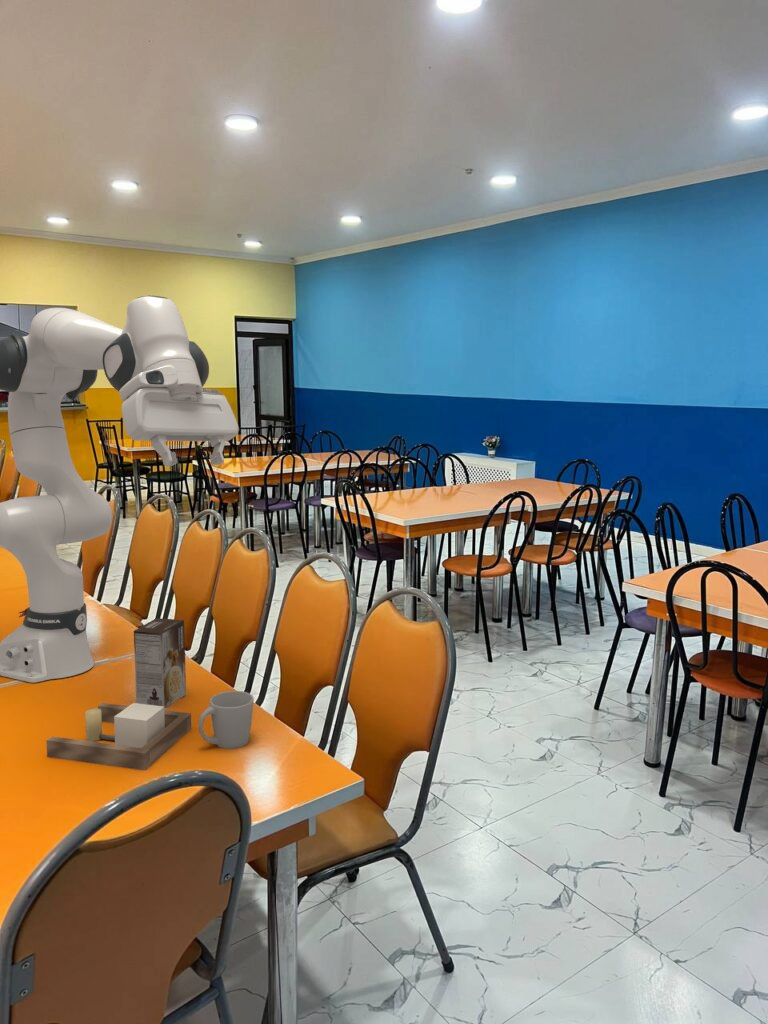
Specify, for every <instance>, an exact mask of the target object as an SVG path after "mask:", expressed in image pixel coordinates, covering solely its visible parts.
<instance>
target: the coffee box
mask: <svg viewBox="0 0 768 1024" xmlns="http://www.w3.org/2000/svg"><path fill="white" fill-rule="evenodd" d="M185 639H186V637H185V620H184V619H175V618H162V617H161V618H159V617H156V618H154V619H153V620H151V621H149V622H147V623H145V624H143V625H142V626H139V627H138V628H136V629H134V630H133V648H134V650H133V651H134V653H133V654H134V675H135V679H134V680H135V698H136V700H135V701H136V702H135V703H138V704H147V705H155V706H164V710H165V709H167V708H168V707H170V706H171V705H172V704H173V703H175V702H176V701H177V700H178V699H183V697H184V696H186V694H187V684H186V683H187V679H186V678H187V675H186V641H185Z"/></svg>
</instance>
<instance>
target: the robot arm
mask: <svg viewBox="0 0 768 1024" xmlns="http://www.w3.org/2000/svg"><path fill="white" fill-rule="evenodd" d="M29 329H30V330H29V333H28V335H25V336H22V335H21V336H19V335H18V334H17V333H15V332H14V333H12V334H10V335H9V336H8V337H6V338H2V339H0V390H2V391H5V392H9V394H8V400H7V419H8V431H9V437H10V444H11V448H12V453H13V460H14V466H15V468H16V470H17V471H18V472H19V474H21V476H23V477H25V478H26V479H29V480H31V481H34V482H36V483H37V484H39V485H40V486H41V487H42V488H43V490H44V492H45V493H46V494H44V495H35V496H34V495H33V496H22V497H21V496H20V497H16V498H13V499H9V500H5V501H1V502H0V547H1V548H2V549H4V550H6V551H7V552H9V554H11V555H13V557H14V558H16V560H17V561H18V562H19V563H20V565H21V567H22V569H23V571H24V574H25V577H26V578H25V579H26V584H27V590H28V592H27V593H28V603H29V604H28V605H29V606H28V607H27V608H25V609H24V610H22V611H19V612H18V614H20V615H18V618H22V617H24V618H23V621H22V624H21V625H20V626H18V627H17V628H15V630H13V631H12V632H11V633H9V634H8V635H7V636H5V637H4V638H3V639H2V640H1V641H0V676H2V677H6V678H10V679H13V680H14V679H15V680H17V681H22V682H27V683H32V684H33V683H39V682H40V683H41V682H44V681H48V680H55V679H63V678H67V677H73V676H76V675H79V674H82V673H85V672H87V671H89V670H90V669H92V668H93V667H94V665H95V661H94V659H93V656H92V653H91V649H90V645H89V639H88V635H87V623H88V616H87V615H88V614H87V604H86V603H85V595H84V575H83V572H82V570H81V568H80V567H79V566H78V565H76V563H73V562H71V561H70V560H65V559H63V558H60V557H59V555H58V552H57V546H59V545H65V544H73V543H80V542H88V541H90V540H93V539H96V538H99V537H101V536H104V535H106V534H107V533H108V532H109V530H110V528H111V526H112V523H113V509H112V507H111V504H110V503H109V501H108V500H107V499H106V498H105V497H104V496H103V495H101V494H99V493H98V492H97V491H95V490H93V489H92V488H91V487H90V486H89V485H87V483H86V482H85V481H84V480H83V478H82V477H81V476H80V475H79V473H78V471H77V470H76V466H75V465H74V463H73V460H72V457H71V453H70V447H69V443H68V438H67V432H66V428H65V427H66V426H65V421H64V418H63V415H62V409H61V403H62V400H63V398H64V396H65V395H66V397H67V398H68V399H69V400H72V401H74V400H75V399H77V397H78V396H79V395H80V394H82V393H85V392H87V391H88V390H89V389H90V388H91V387H92V386H93V385H94V384H95V382H96V380H97V377H98V371H99V370H101V371H102V370H103V371H104V375H105V377H106V380H108V383H109V384H110V385H111V386H112V387H113V388H114V389H115V390H116V391H117V392H119V393H118V394H119V397H120V399H121V401H123V403H122V404H121V414H122V420H123V425H124V429H125V432H126V434H127V436H129V438H130V439H131V440H133V441H139V442H140V441H141V442H143V441H145V442H147V441H150V443H151V446H152V448H153V449H154V450H155V451H156V452H157V454H158V455H159V456H160V457H161V460H162V464H163V466H164V467H165V466H166V467H169V466H170V467H173V466H174V465H176V464H177V463H178V458H177V454H176V451H171V450H170V448H169V446H167V444H166V442H209V444H210V447H212V448H213V452H212V453H211V454H210V455H209V456H208V457H209V460H210V464H211V465H212V466H214V465H216V466H220V465H222V464H224V462H225V458H224V454H223V452H224V448H225V443H226V442H228V441H230V440H232V439H233V438H235V437H237V436H238V434H239V431H240V427H239V424H238V422H237V419H236V416H235V414H234V412H233V409H232V406H231V405H230V403H229V402H228V399H227V398H226V396H225V395H224V394H223V393H221V392H220V391H219V390H217V389H213V388H211V389H208V388H203V387H204V385H205V384H206V383H207V381H208V379H209V376H210V375H209V374H210V364H209V360H208V358H207V356H206V354H205V352H204V351H203V350H202V348H200V346H199V345H198V344H197V343H196V342H195V341H190V339H189V336H188V333H187V330H186V325H185V324H184V321H183V318H182V316H181V313H180V311H179V309H178V307H177V306H176V304H175V303H174V301H173V300H171V299H170V298H168V297H165V296H160V295H159V296H158V295H145V296H144V295H143V296H138V297H136V298H134V299H133V300H131V301H129V303H128V304H127V308H126V322H125V325H124V327H123V329H122V328H119V327H117V326H115V325H112V324H110V323H108V322H105V321H103V320H101V319H99V318H96V317H93V316H91V315H90V314H87V313H84V312H82V311H79V310H76V309H70V308H66V307H50V308H45V309H43V310H41V311H39V312H38V313H36V315H34V317H33V318H32V320H31V323H30V328H29Z"/></svg>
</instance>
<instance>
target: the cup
mask: <svg viewBox="0 0 768 1024" xmlns="http://www.w3.org/2000/svg"><path fill="white" fill-rule="evenodd" d="M254 700H255V699H254V696H253V695H252V694H251V693H250V692H246V691H243V690H242V691H241V690H228V691H222V692H219V693H216V694H215V695H212V697H210V699H209V705H208V707H207V708H206V709H205V710H204V711H202V713H201V714H200V716H199V719H198V731H199V734H200V736H201V737H202V738H203V740H204V741H205V742H207V743H210V744H213V745H216V746H217V747H219V748H221V749H224V750H225V749H227V750H231V749H232V750H233V749H239V748H242V747H244V746H246V745H247V744H248V743H249V741H250V734H251V728H252V723H253V722H252V720H253V713H254V712H253V711H254V702H255V701H254ZM210 715H211V724H212V729H213V730H212V731H213V736H208V735H206V734H205V731H204V722H205V720H206V718H207V717H208V716H210Z"/></svg>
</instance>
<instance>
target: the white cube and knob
mask: <svg viewBox="0 0 768 1024" xmlns="http://www.w3.org/2000/svg"><path fill="white" fill-rule="evenodd" d="M127 706H128V707H127V708H126V709H124V710H123V711H121V712H120V713H119V714H117V715H116V716H114V723H113V724H114V735H113V734H112V735H111V734H103V725H102V723H103V722H102V718H101V709H98V707H97V708H95V707H94V708H90V709H87V710H86V711H85V713H84V715H85V731H86V733H85V736H86V737H85V738H86V739H85V741H91V742H99V741H101V740H107V741H114V745H122V746H129V747H137V748H142V747H143V746H144V745H145V744H147V743H148V742H149V741H150V740H151V739H153V738H154V737H155V736H156V735H157V734H159V733H160V732H161V731H162V730H163V729H164V728H165V714H164V710H165V709H164V706H155V705H147V704H138V703H136V702H132V703H131V704H130V705H127Z"/></svg>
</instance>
